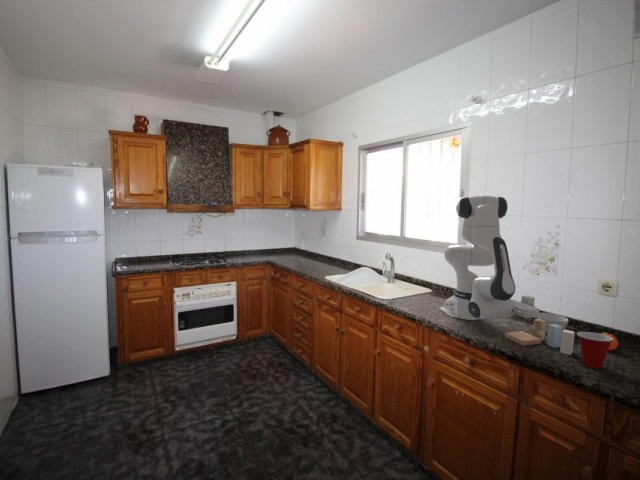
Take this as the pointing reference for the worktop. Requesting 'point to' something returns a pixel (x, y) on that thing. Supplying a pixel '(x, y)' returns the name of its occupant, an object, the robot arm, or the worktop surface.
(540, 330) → the beech post
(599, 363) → the plastic cup
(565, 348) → the cream post
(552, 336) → the dusty blue post
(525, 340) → the terracotta tile
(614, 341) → the clementine
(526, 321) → the worktop surface
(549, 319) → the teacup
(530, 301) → the sage green post
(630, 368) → the worktop surface
